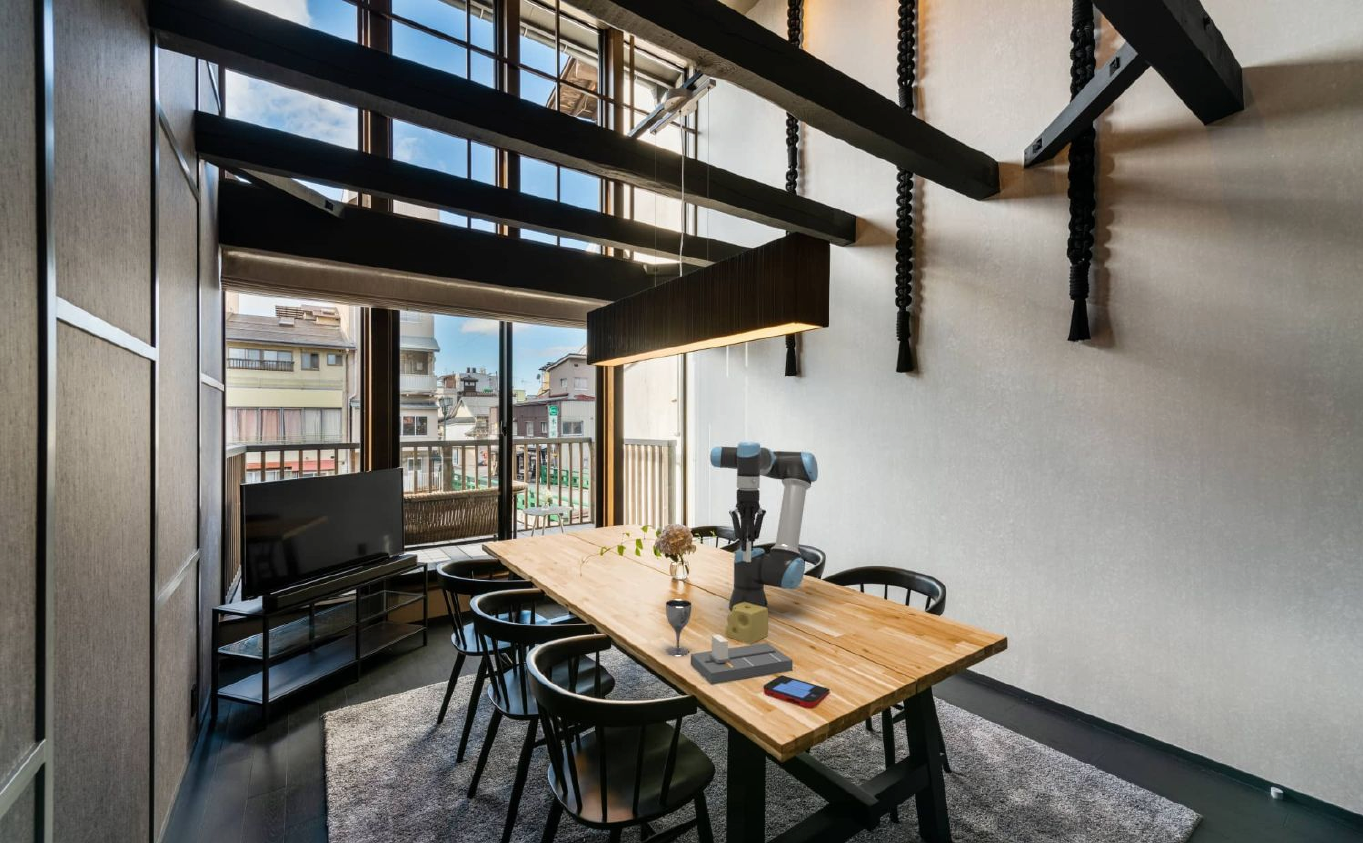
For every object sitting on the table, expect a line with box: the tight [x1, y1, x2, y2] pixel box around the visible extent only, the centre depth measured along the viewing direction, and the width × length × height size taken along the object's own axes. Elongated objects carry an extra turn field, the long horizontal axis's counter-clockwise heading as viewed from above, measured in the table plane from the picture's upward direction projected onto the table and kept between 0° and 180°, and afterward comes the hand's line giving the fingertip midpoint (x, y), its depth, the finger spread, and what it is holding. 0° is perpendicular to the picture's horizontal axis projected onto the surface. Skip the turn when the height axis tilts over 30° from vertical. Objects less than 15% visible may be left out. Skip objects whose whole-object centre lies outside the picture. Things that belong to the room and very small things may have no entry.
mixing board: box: [690, 642, 794, 685], centre depth 163 cm, size 26×14×3 cm, turn 113°
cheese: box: [725, 602, 769, 645], centre depth 188 cm, size 10×11×10 cm
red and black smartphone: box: [763, 674, 830, 709], centre depth 148 cm, size 14×13×2 cm
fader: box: [709, 634, 730, 664], centre depth 160 cm, size 4×6×6 cm
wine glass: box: [665, 598, 692, 657], centre depth 174 cm, size 8×8×15 cm
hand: (746, 560), depth 183 cm, fingers closed
